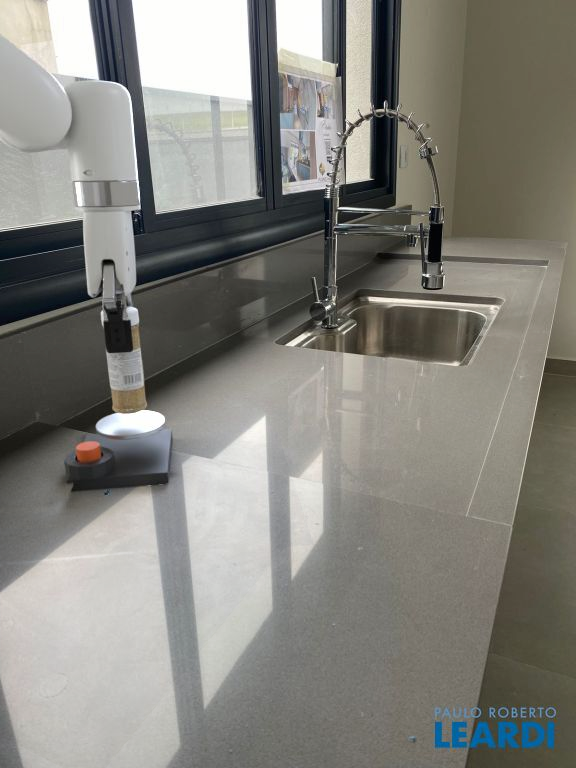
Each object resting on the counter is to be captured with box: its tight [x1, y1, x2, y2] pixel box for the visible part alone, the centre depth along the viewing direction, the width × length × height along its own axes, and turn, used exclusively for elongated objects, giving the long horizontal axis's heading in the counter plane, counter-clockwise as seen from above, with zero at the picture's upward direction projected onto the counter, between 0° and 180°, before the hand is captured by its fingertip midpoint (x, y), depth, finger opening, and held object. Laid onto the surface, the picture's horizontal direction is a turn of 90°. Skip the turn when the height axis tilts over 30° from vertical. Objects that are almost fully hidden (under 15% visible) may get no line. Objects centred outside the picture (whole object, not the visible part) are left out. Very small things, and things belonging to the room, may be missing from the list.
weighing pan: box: [95, 409, 166, 440], centre depth 81 cm, size 9×9×2 cm
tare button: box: [75, 441, 101, 462], centre depth 74 cm, size 3×3×2 cm
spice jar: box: [100, 306, 148, 414], centre depth 78 cm, size 5×5×14 cm
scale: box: [63, 428, 174, 492], centre depth 80 cm, size 12×14×4 cm
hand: (122, 345), depth 77 cm, fingers closed on spice jar, 4 cm apart
